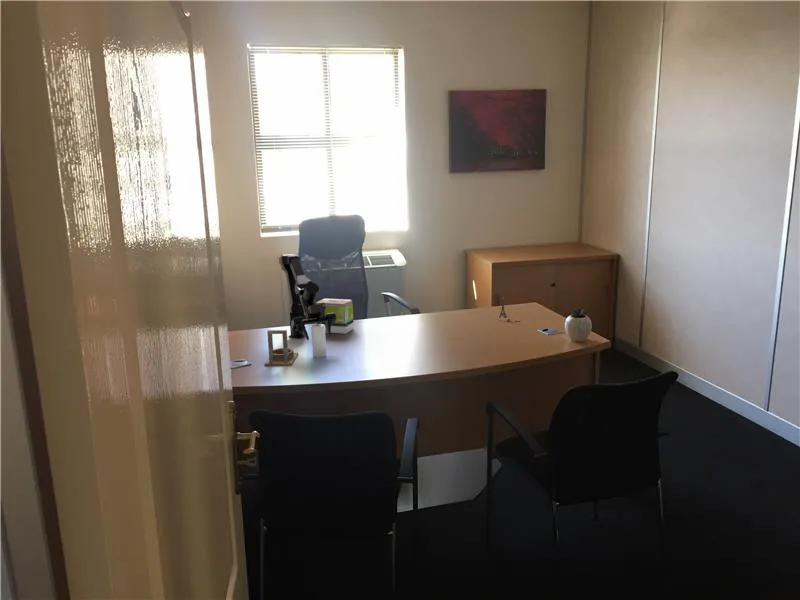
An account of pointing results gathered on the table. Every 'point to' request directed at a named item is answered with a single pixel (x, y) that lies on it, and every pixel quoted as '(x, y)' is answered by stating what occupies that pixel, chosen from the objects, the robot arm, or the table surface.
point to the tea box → (339, 314)
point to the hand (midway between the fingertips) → (319, 338)
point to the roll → (318, 340)
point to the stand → (280, 351)
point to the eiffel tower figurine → (503, 310)
